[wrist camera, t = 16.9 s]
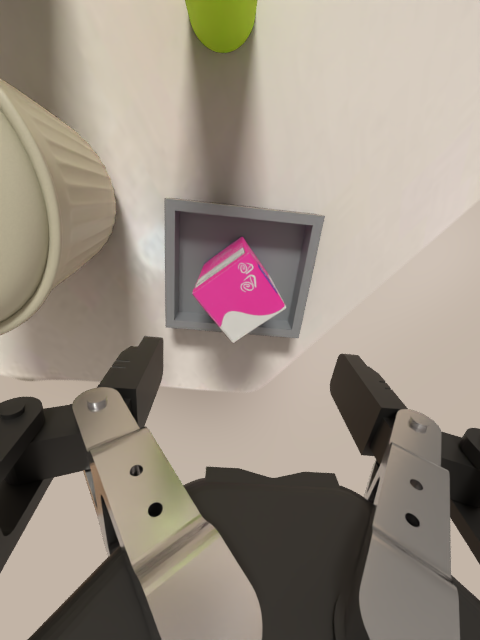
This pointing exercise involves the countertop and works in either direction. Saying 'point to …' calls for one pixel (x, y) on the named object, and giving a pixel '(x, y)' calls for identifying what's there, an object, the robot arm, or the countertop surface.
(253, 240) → the tray
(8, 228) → the canister
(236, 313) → the supplement box
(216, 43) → the soap dispenser
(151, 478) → the robot arm
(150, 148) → the countertop surface
